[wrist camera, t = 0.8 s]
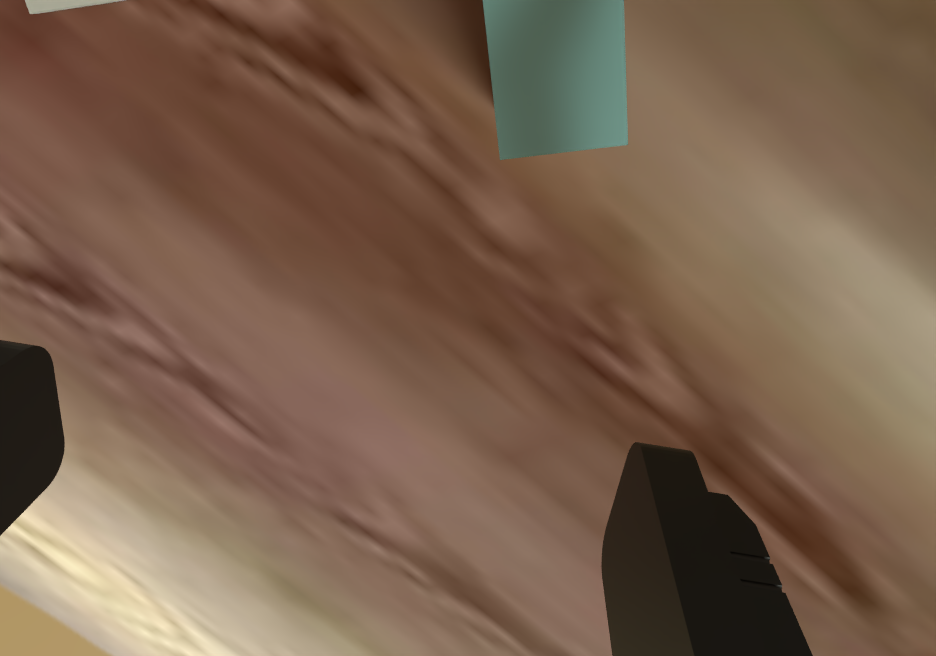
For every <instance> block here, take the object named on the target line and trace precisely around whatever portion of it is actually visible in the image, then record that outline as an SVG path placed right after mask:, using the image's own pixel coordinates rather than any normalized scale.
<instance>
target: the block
mask: <svg viewBox="0 0 936 656" xmlns="http://www.w3.org/2000/svg"><path fill="white" fill-rule="evenodd" d="M483 7H484V16H485V26H486V35H487V44H488V53H489V62H490V72H491V81H492V90H493V99H494V108H495V118H496V127H497V136H498V145H499V154H500V160H503V159H512V158H520V157H529V156H537V155H545V154H554V153H562V152H571V151H579V150H588V149H596V148H605V147H613V146H621V145H628V130H627V95H626V61H625V26H624V0H483Z"/></svg>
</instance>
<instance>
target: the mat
mask: <svg viewBox="0 0 936 656" xmlns="http://www.w3.org/2000/svg"><path fill="white" fill-rule="evenodd" d="M118 1H124V0H25V2H26V5H27V7H28V10H29V13H30V14H38V13H45V12H52V11H58V10H65V9H72V8H78V7H85V6H91V5H98V4H105V3H111V2H118Z"/></svg>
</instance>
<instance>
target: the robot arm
mask: <svg viewBox="0 0 936 656" xmlns="http://www.w3.org/2000/svg"><path fill="white" fill-rule="evenodd" d="M64 444H65V442H64V434H63V427H62V420H61V414H60V407H59V400H58V394H57V387H56V380H55V373H54V367H53V362H52V359H51V356H50V354H49V353H48V351H47V350H46V349H44V348H42V347H40V346H35V345H28V344H22V343H16V342H9V341H3V340H0V535H1V534H2V533H3V532H4V531H5V530H6V529H7V528H8V527H9V526H10V525H11V524H12V523H13V522H14V521H15V520H16V519H17V518H18V517H19V516H20V515H21V514H22V513H23V512H24V511H25V510H26V509H27V508H28V507H29V506H30V505H31V504H32V503H33V501H34V500H35V499H36V498H37V497H38V496H39V495H40V494H41V493H42V492H43V491H44V490H45V489H46V488H47V487H48V486H49V485H50V484H51V482H52V481H53V479H54V478H55V476H56V474H57V472H58V470H59V468H60V465H61V462H62V459H63V454H64ZM769 560H770V557H769V554H768V552H767V550H766V547H765V545H764V543H763V541H762V538H761V536H760V534H759V531H758V529H757V527H756V525H755V524H754V523H753V521H752V520H751V519H750V518H749V517H748V516H747V515H746V514H745V513H744V512H743V511H742V510H741V509H740V507H739V506H738V505H737V504H736V503H735V502H734V501H733V500H732V499H731V498H730V497H729V496H728V495H725V494H719V493H712V492H708V490H707V488H706V485H705V482H704V479H703V477H702V474H701V471H700V469H699V466H698V463H697V460H696V458H695V456H694V454H693V453H692V452H691V451H689V450H682V449H676V448H670V447H663V446H657V445H651V444H644V443H638V442H635V443H634V444H633V445H632V446H631V448H630V450H629V453H628V455H627V459H626V462H625V465H624V469H623V472H622V476H621V479H620V482H619V486H618V489H617V493H616V496H615V499H614V503H613V506H612V509H611V513H610V516H609V520H608V523H607V526H606V530H605V535H604V541H603V548H602V579H603V587H604V595H605V602H606V610H607V617H608V625H609V633H610V640H611V648H612V655H613V656H813V655H812V653H811V651H810V649H809V646H808V644H807V642H806V639H805V637H804V635H803V632H802V630H801V628H800V626H799V623H798V621H797V619H796V616H795V614H794V612H793V609H792V607H791V605H790V603H789V600H788V598H787V596H786V593H782V584H781V582H780V580H779V577H778V575H777V573H776V570H775V568H774V566H773V564H770V563H769Z"/></svg>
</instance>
